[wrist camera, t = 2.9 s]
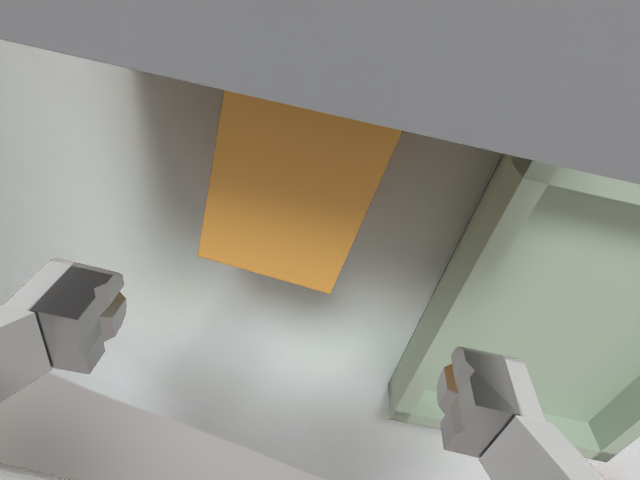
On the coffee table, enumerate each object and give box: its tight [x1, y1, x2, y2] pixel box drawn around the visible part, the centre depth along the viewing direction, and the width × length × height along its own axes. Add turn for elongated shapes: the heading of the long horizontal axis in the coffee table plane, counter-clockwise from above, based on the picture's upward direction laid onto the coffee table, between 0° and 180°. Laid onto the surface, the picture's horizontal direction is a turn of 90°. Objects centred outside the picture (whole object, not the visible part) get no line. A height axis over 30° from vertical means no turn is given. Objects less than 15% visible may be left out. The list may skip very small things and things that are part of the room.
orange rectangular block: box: [198, 90, 402, 294], centre depth 14 cm, size 5×13×6 cm, turn 163°
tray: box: [388, 154, 640, 462], centre depth 22 cm, size 14×18×2 cm
